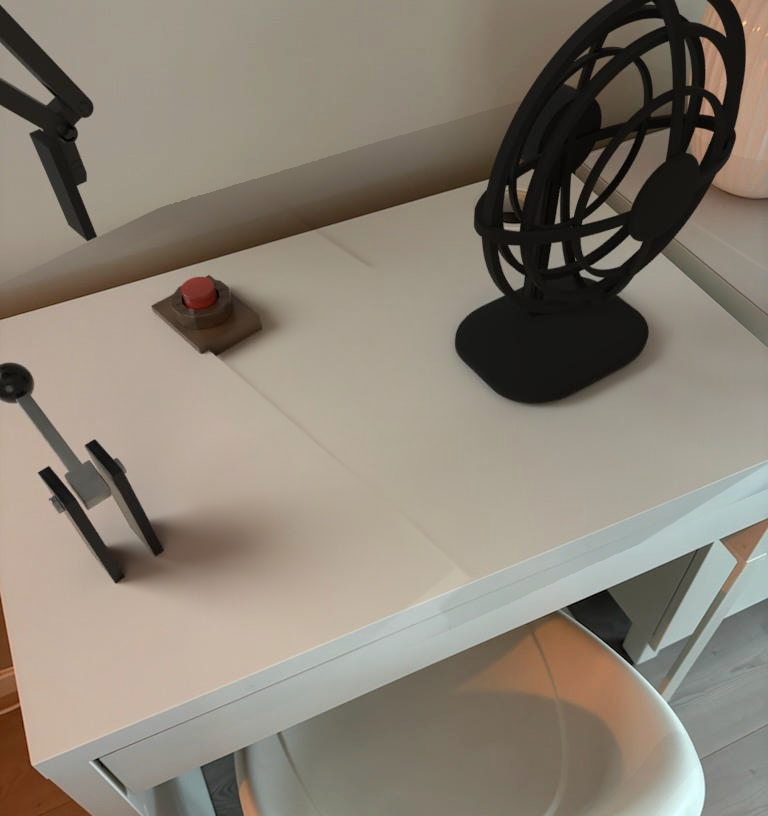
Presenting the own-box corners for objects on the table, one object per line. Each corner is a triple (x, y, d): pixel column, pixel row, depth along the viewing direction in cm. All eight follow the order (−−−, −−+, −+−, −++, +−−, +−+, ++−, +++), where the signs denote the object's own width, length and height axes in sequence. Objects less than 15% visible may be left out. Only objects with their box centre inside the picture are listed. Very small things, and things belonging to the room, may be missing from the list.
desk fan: (503, 453, 73) (553, 73, 45) (405, 351, 82) (394, -18, 54) (704, 344, 81) (856, -40, 52) (594, 262, 90) (672, -103, 61)
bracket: (57, 548, 69) (-9, 458, 59) (141, 494, 72) (93, 400, 62) (122, 634, 63) (63, 553, 53) (211, 572, 67) (171, 483, 56)
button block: (156, 321, 87) (145, 292, 84) (213, 289, 90) (205, 261, 87) (204, 363, 82) (194, 335, 79) (262, 329, 85) (256, 301, 82)
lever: (-16, 384, 60) (-24, 368, 57) (21, 364, 61) (15, 348, 58) (82, 515, 60) (79, 506, 57) (117, 493, 61) (116, 483, 58)
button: (178, 299, 83) (174, 286, 82) (205, 285, 85) (202, 272, 83) (196, 314, 82) (192, 301, 80) (223, 299, 83) (220, 286, 82)
